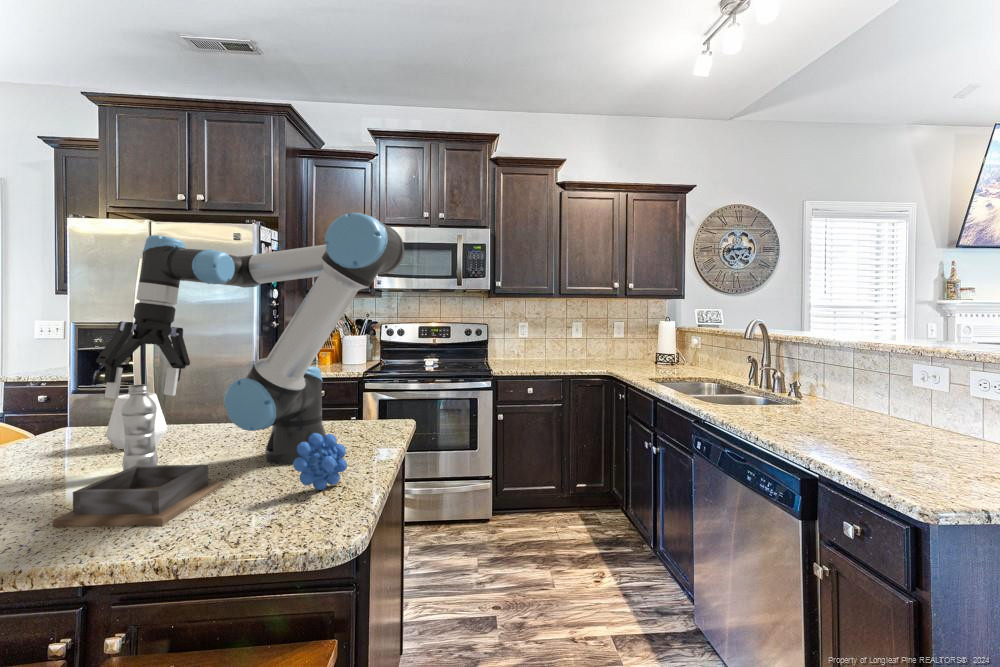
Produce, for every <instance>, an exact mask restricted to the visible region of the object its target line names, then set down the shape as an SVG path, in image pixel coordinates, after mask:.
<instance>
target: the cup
mask: <svg viewBox="0 0 1000 667" xmlns="http://www.w3.org/2000/svg"><path fill="white" fill-rule="evenodd" d="M148 396H149V397H150V398H151V399H152V400H153V401H154V402H155V404H156V406H157V411H156V418H155V430H154V438H155V446H157V445H158V444H159V443H160V442H161V440H162V439H163V437H164V435H166V432H167V430H168V425H167V423H166V419H165V416H164V414H163V409H162V408H161V404H160V401H159V398H158V396H157V394H156V393H155V392H149V393H148ZM129 397H130V395H129V394H128V393H127V394H122V395H119V396H118V399H115V401H114V403H113V406H112V411H111V415H110V419H109V422H108V425H107V429H106V434H105V435H106V439H108V441H109V442H110V443H111V444H112V446H114V448H115V449H116V448H117V449H116V450H119V449H125V430H124V423H123V418H122V412H121V410H122V407H123V405H124V404H125V402H126V401H127V400H128V399H129ZM157 443H158V444H157Z"/></svg>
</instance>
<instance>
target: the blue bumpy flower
mask: <svg viewBox="0 0 1000 667" xmlns="http://www.w3.org/2000/svg"><path fill="white" fill-rule="evenodd" d="M337 440H338V439H337V437H336V435H334V434H332V433H326V435H325V436H324V437H322V435H321V434H319V433H313V434H311V435H310V437H309V443H308V442H301V443H300V444H299V445H298V446H297V452H298V454H299V455H300V456H302V457H297V458H296V459H295V460H294V462H293V463H292V467H293V469H294V470H295V471H296V472H298V473H300V474H299V480H300V482H301V485H304V486H310V485H312V486H313V487H314V489H316V490H317V491H322V490H325V489H326V487H327V486H328V484H329V485H330V486H331V485H333V486H334V485H337V484H338V483H339V482H340V480H341V475H340V473H343V472H345V471H347V468H348V462H347V460H346V459H345V458H344V457H345V456H346V454H347V449H346V447H345V445H343V444H341V443H338V441H337Z"/></svg>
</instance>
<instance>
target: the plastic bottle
mask: <svg viewBox="0 0 1000 667" xmlns="http://www.w3.org/2000/svg"><path fill="white" fill-rule="evenodd" d="M148 393H150V387H149V384H146V383H145V384H133V385H129V386H128V392H127V394H129V395H130V397H129V399H128V400H127V401H126V402H125V404H124V405H123V407H122V410H121V412H122V418H123V423H124V430H125V450H123V452H124V453H123V454H124V455H123V456H122V462H121V465H122V466H121V467H122V471H124V470H126V469H129V468H131V467H133V466H145V465H158V463H159V462H158V461H159V456H158V451H157V450H156V448H157V447H156V445H155V438H154V430H155V418H156V411H157V406H156V404H155V402H154V401H153V400H152V399H151V398H150V397H149V396H148Z"/></svg>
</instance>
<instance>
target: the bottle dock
mask: <svg viewBox="0 0 1000 667" xmlns="http://www.w3.org/2000/svg"><path fill="white" fill-rule="evenodd" d="M220 487H221V488H223V480H209V464H172V465H171V464H170V465H169V464H166V465H165V464H163V465H162V464H161V465H158V464H157V465H145V466H133V467H131V468H129V469H126V470H124V471H123V470H122V471H119V472H117V473H115V474H113V475H110V476H107V477H105V478H103V479H100V480H98V481H96V482H93V483H91V484H89V485H86V486H83V487H82V488H79V489H76V490H74V491H72V510H71V511H69V512H67V513H64V514H62V515H60V516H58V517H56V518H54V519H52V527H53V528H55V527H57V528H58V527H59V528H63V527H67V528H68V527H69V526H72V527H117V526H118V527H123V526H124V527H125V526H130V525H139V526H163V524H164V525H165V524H166V522H167V523H168V522H170V521H172V520H173V519H175V518H176V517H177V515H178V516H179V515H181V514H182V513H184V512H185V511H187V510H188V509H187V508H189V507H190V506H192V505H193V504H195V503H196V502H198V501H199V500H201V499H202V498H204V497H206V496H207V495H208V494H210V493H212V492H213V491H215V490H216V491H218V490H219V489H221V488H220ZM218 488H219V489H218ZM217 489H218V490H217ZM216 491H215V492H216ZM213 493H214V492H213ZM213 493H212V494H213ZM210 495H211V494H210ZM207 497H208V496H207ZM207 497H206V498H207ZM204 499H205V498H204ZM202 500H203V499H202ZM202 500H201V501H202ZM199 502H200V501H199ZM199 502H198V503H199ZM196 504H197V503H196ZM196 504H195V505H196ZM193 506H194V505H193ZM193 506H192V507H193ZM190 508H191V507H190ZM190 508H189V509H190ZM186 509H187V510H186ZM183 511H184V512H183ZM180 513H181V514H180ZM175 516H176V517H175ZM174 517H175V518H174ZM172 518H173V519H172ZM169 520H170V521H169Z"/></svg>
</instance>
